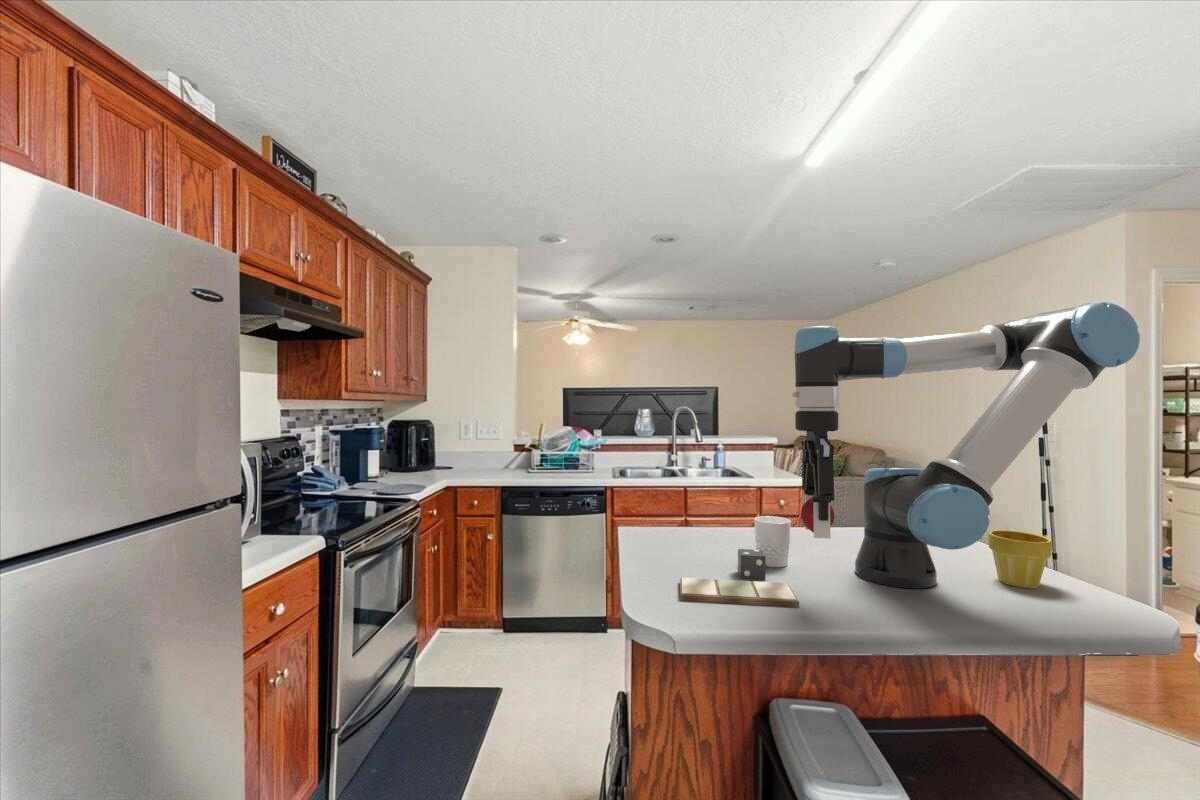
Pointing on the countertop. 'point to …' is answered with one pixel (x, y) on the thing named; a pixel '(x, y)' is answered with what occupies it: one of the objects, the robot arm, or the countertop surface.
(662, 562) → the countertop surface
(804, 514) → the onion
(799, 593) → the countertop surface
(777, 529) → the white cup
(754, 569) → the die
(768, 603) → the board
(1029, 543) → the plant pot
